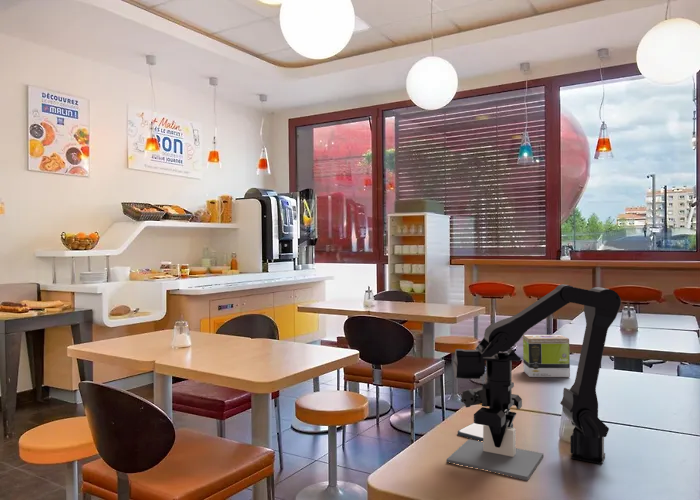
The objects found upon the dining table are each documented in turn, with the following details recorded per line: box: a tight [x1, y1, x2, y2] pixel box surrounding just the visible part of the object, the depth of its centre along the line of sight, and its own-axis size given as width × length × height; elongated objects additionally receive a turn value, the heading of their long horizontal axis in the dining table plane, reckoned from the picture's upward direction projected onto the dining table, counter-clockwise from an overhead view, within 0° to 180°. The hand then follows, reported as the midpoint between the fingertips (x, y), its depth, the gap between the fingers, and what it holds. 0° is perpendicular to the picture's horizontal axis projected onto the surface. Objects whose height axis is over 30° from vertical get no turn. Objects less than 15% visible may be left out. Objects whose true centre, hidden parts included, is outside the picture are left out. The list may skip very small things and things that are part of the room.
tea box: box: [522, 334, 571, 378], centre depth 207 cm, size 15×10×15 cm, turn 84°
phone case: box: [457, 422, 514, 441], centre depth 145 cm, size 9×2×16 cm
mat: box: [445, 438, 544, 481], centre depth 125 cm, size 18×15×1 cm
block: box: [483, 425, 517, 457], centre depth 127 cm, size 7×2×6 cm, turn 58°
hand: (499, 445), depth 127 cm, fingers closed on block, 2 cm apart
